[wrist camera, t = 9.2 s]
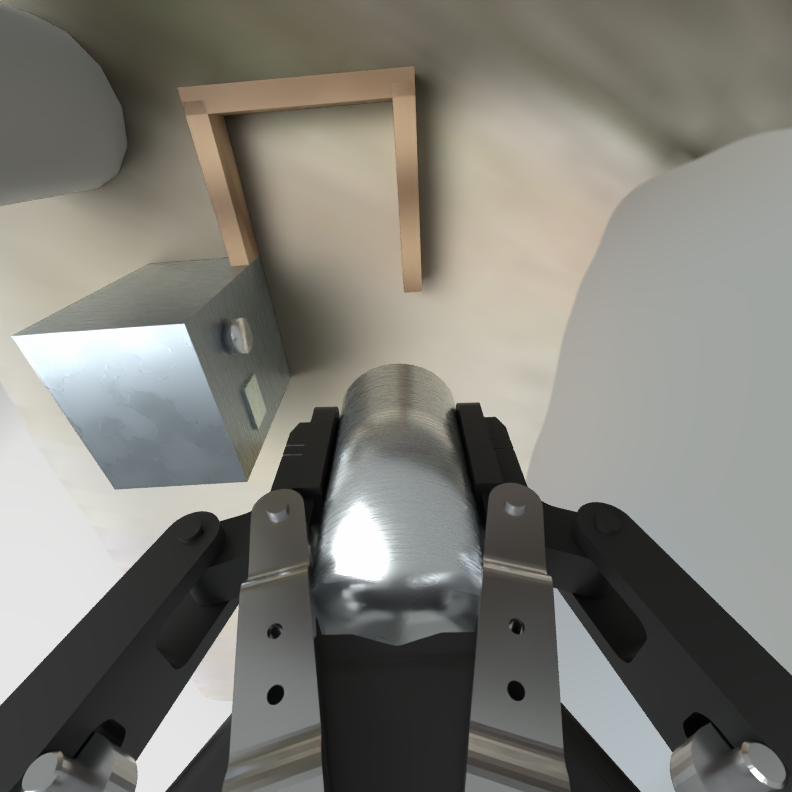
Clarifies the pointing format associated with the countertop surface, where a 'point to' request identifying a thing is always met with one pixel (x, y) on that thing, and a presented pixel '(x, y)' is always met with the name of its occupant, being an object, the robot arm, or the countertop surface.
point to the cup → (53, 113)
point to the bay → (293, 93)
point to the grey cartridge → (398, 514)
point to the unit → (167, 372)
